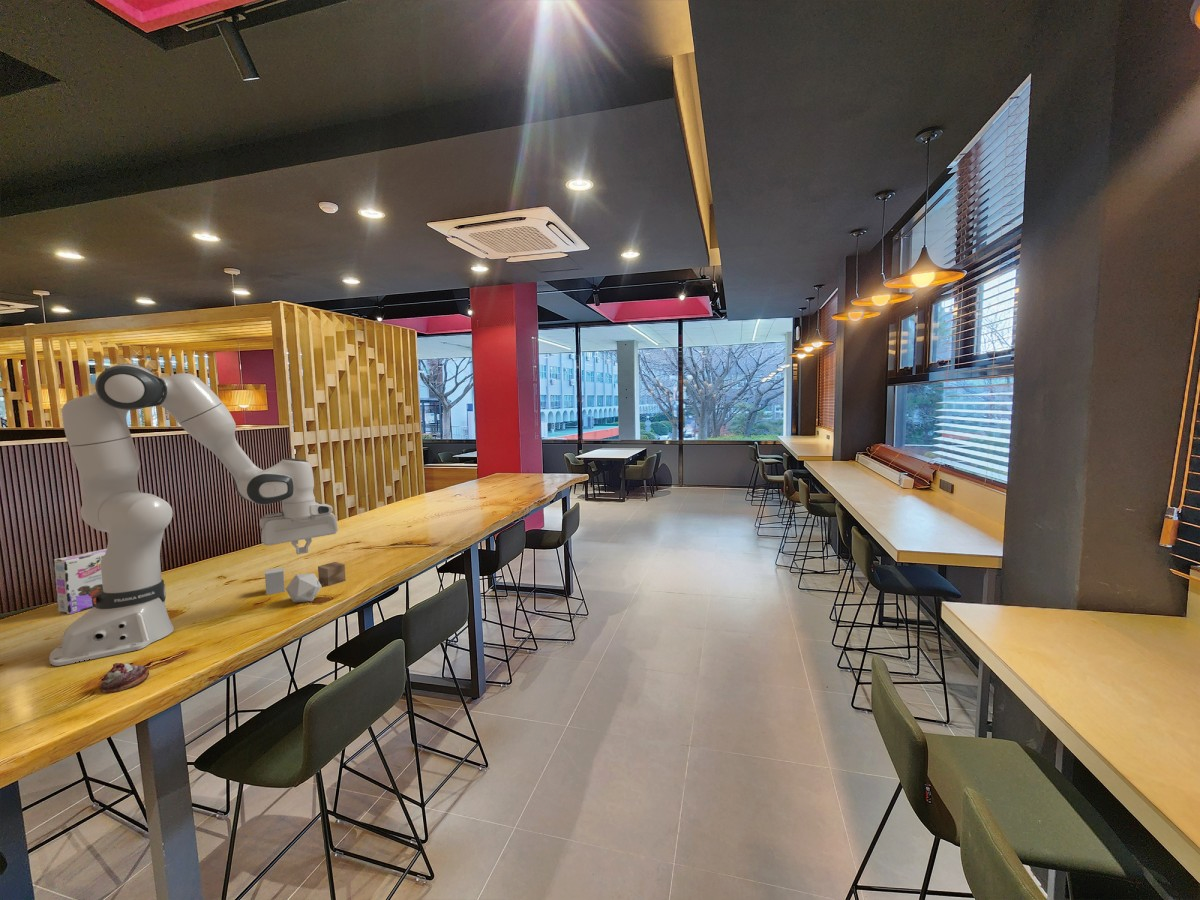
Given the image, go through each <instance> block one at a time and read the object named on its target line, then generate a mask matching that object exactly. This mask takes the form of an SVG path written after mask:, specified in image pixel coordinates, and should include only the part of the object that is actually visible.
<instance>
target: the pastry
mask: <svg viewBox="0 0 1200 900" xmlns="http://www.w3.org/2000/svg"><path fill="white" fill-rule="evenodd" d="M149 672H150V670H149V669H148V667H146V666H144V665H141V664H140V665H139V664H135V665H131V664H130V663H124V662H120V663H119V662H115V663H113V664H112V668H111V669H109V670H108V671H107V673H106V674H105V675H104V676H103V681H102V682H101V683H100V686H99V691H101V693H103V694H115V693H121V692H123V691H126V690H130V689H134V688H136V687H138V686H140V685H141V684H143V683H144V682H145V681H146V680H147V678H148V677H149V676H150V673H149Z"/></svg>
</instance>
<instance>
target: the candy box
mask: <svg viewBox="0 0 1200 900" xmlns="http://www.w3.org/2000/svg"><path fill="white" fill-rule="evenodd" d="M106 550H107V548H104V549H98V550H94V551H88V552H85V553H79V554H75V555H69V556H66V557H60V558H59V557H58V558H54V559H53V564H54V565H53V566H54V578H55V588H56V590H55V591H56V600H57V601H56V602H57V612H58V613H62V614H67V615H72V614H75V613H79V612H82V611H86V610H91V609H92V608H93V605H92V599H91V597H90V596H91V593H93V591H95V590H100V591H102V590H103V584H102V574H101V564H100V563H101V559H102V558H103V557H104V555H105V553H106Z"/></svg>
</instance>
